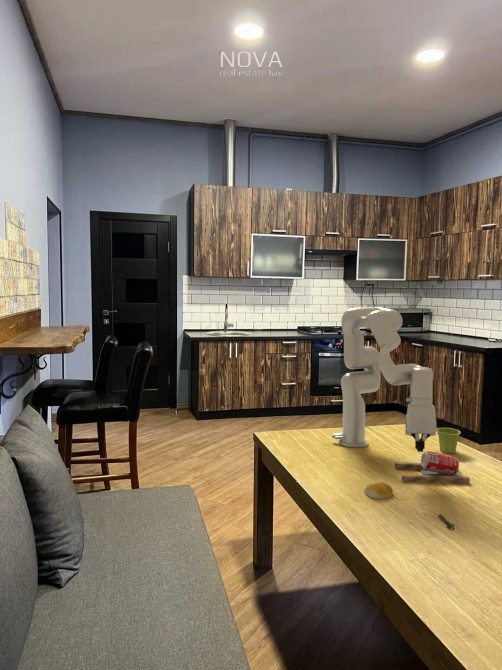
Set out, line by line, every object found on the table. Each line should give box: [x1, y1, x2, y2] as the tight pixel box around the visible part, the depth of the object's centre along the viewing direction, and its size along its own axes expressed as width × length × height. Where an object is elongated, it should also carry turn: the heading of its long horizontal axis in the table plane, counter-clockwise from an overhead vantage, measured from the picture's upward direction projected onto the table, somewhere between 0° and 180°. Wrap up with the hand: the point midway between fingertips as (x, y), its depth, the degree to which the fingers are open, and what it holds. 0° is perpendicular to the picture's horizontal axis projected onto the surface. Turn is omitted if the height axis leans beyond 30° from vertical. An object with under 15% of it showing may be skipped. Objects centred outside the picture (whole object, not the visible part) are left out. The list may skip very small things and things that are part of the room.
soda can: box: [420, 450, 460, 475], centre depth 187 cm, size 7×7×12 cm
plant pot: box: [436, 427, 462, 454], centre depth 214 cm, size 9×9×9 cm
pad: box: [419, 469, 464, 476], centre depth 187 cm, size 14×11×1 cm
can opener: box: [438, 514, 455, 531], centre depth 150 cm, size 9×2×1 cm, turn 179°
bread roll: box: [364, 481, 394, 500], centre depth 171 cm, size 8×9×4 cm
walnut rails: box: [394, 462, 471, 485], centre depth 187 cm, size 23×14×2 cm, turn 86°
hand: (419, 450), depth 187 cm, fingers closed
